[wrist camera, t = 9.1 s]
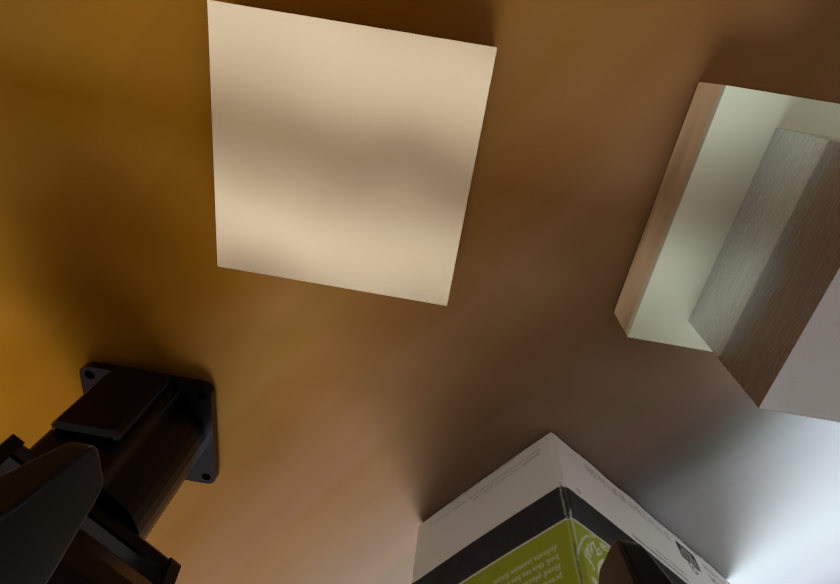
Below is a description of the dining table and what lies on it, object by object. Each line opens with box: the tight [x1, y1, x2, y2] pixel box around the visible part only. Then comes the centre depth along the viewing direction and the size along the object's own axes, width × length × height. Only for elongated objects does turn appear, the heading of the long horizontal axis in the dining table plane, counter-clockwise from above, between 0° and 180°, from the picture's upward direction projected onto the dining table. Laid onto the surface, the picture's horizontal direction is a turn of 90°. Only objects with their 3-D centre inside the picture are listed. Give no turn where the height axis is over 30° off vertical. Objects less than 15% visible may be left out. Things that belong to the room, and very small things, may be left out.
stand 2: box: [614, 82, 840, 352], centre depth 18 cm, size 9×9×2 cm
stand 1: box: [207, 0, 497, 306], centre depth 18 cm, size 9×9×2 cm
